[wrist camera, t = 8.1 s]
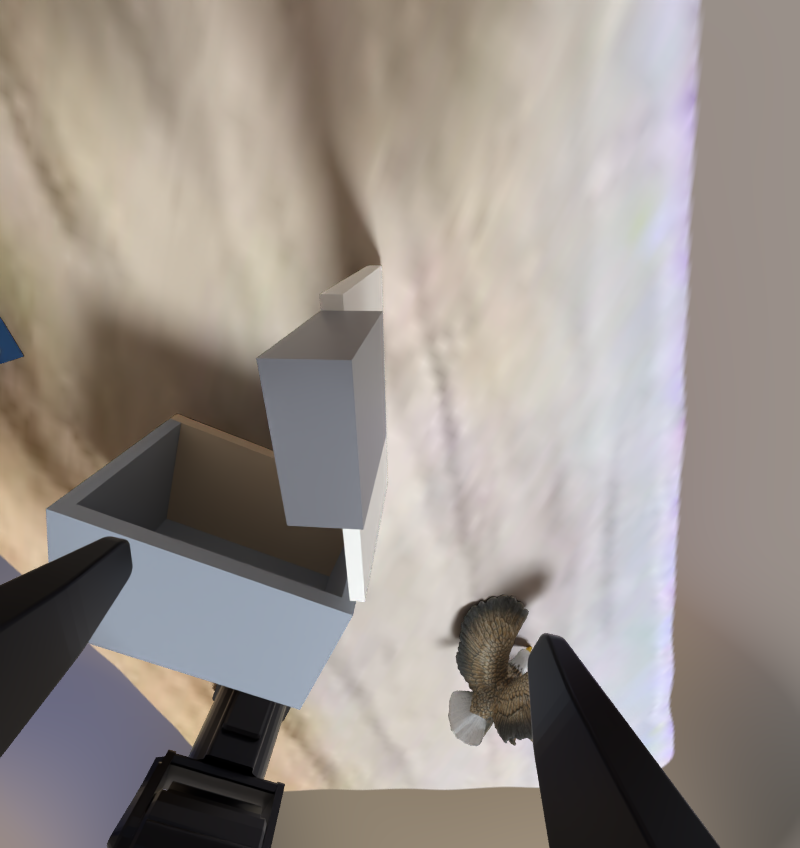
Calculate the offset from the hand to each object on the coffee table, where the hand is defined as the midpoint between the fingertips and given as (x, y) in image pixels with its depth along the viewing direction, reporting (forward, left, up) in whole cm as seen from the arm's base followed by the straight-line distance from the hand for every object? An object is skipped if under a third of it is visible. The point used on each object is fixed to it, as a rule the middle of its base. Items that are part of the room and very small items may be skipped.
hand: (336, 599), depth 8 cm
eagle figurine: (-15, -15, -13) cm, 24 cm away
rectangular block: (0, 0, -12) cm, 12 cm away
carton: (-10, +4, -13) cm, 17 cm away
